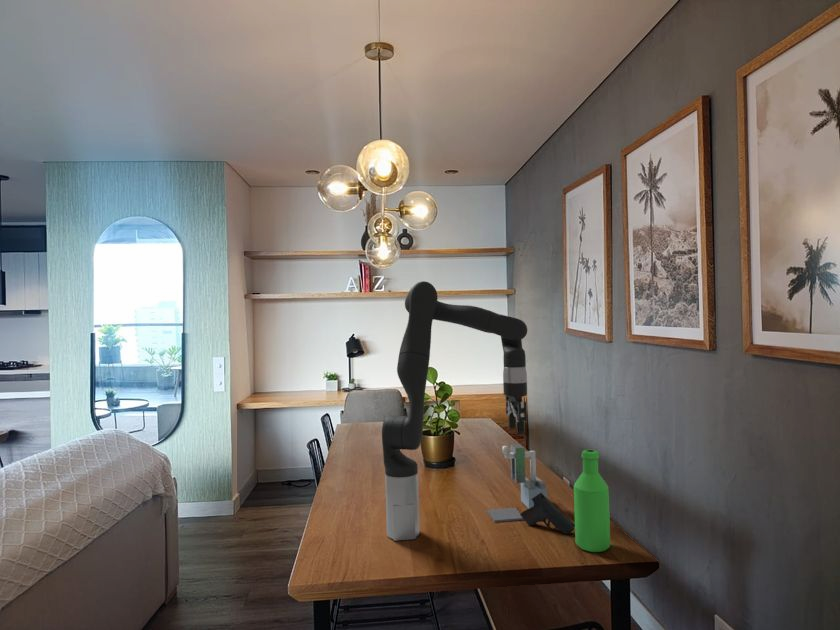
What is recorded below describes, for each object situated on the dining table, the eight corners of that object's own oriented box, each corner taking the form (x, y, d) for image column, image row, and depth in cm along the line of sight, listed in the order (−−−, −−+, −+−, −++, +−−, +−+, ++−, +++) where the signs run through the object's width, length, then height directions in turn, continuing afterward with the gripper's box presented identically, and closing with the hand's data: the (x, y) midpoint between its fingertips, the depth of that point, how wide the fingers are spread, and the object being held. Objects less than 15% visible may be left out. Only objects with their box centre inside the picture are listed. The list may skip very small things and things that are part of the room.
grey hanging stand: (547, 507, 172) (545, 447, 173) (507, 510, 171) (506, 449, 171) (538, 499, 180) (537, 441, 180) (500, 502, 179) (499, 443, 179)
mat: (523, 519, 163) (523, 517, 163) (494, 522, 161) (494, 520, 161) (514, 509, 172) (514, 507, 172) (486, 511, 170) (486, 509, 170)
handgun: (523, 512, 162) (541, 488, 159) (559, 548, 155) (578, 524, 152) (519, 515, 160) (536, 491, 156) (554, 552, 153) (573, 527, 149)
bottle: (587, 555, 137) (584, 456, 138) (568, 542, 146) (566, 448, 146) (617, 550, 140) (614, 453, 140) (597, 538, 148) (595, 445, 148)
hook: (525, 482, 173) (524, 447, 173) (516, 483, 173) (515, 448, 173) (520, 477, 178) (519, 443, 178) (511, 478, 178) (510, 444, 178)
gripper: (533, 382, 169) (535, 435, 169) (519, 377, 183) (520, 426, 183) (510, 383, 168) (511, 436, 168) (497, 378, 182) (498, 427, 182)
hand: (516, 431), depth 176 cm, fingers open, 8 cm apart
